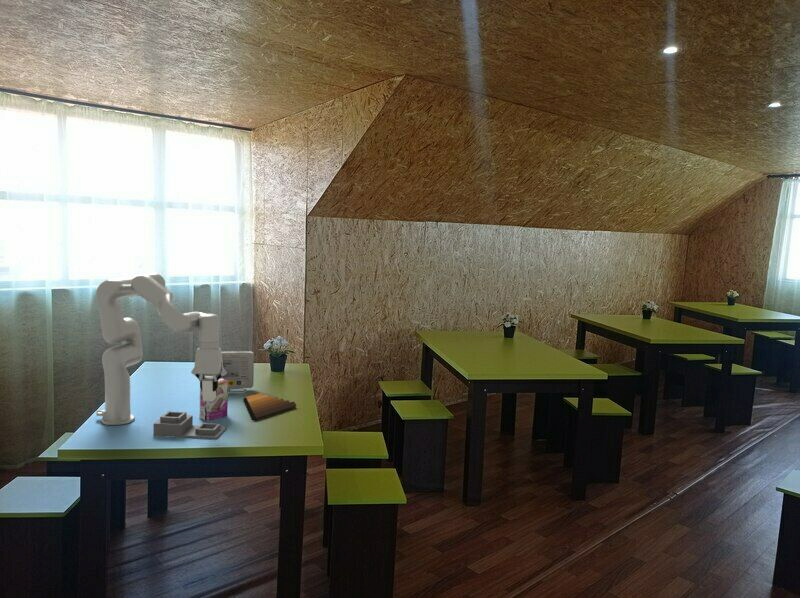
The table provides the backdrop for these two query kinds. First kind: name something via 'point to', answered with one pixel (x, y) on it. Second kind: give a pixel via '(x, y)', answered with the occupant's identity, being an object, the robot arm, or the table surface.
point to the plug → (208, 388)
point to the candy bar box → (215, 403)
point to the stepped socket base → (185, 427)
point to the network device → (238, 369)
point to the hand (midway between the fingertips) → (209, 389)
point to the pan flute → (266, 406)
